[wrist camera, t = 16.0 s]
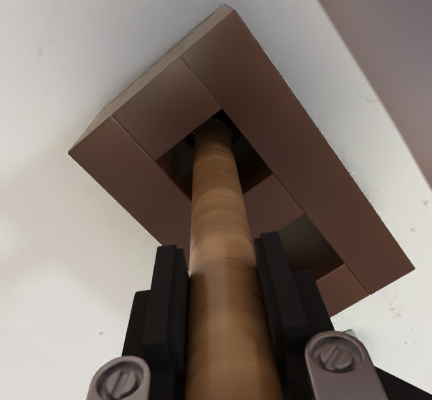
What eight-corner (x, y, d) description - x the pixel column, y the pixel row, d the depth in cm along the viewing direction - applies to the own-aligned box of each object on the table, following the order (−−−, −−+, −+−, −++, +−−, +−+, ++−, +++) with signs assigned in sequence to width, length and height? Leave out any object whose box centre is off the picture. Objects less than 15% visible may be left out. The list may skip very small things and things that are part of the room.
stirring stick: (191, 121, 25) (172, 432, 7) (227, 116, 25) (294, 418, 7) (197, 154, 26) (191, 500, 8) (231, 150, 26) (299, 489, 8)
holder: (224, 3, 24) (234, 9, 17) (366, 205, 31) (415, 269, 24) (101, 110, 27) (66, 153, 20) (256, 275, 34) (271, 352, 26)
